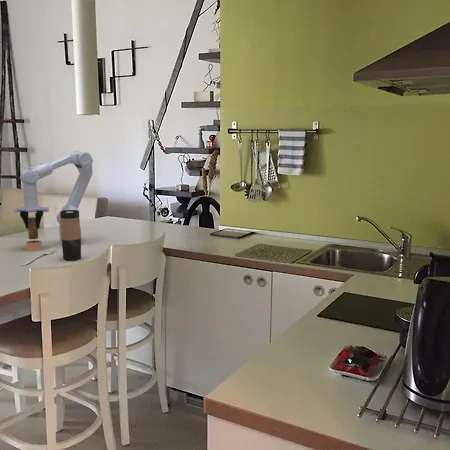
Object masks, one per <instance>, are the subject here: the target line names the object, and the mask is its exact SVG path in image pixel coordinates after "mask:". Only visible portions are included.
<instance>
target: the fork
mask: <svg viewBox="0 0 450 450" xmlns="http://www.w3.org/2000/svg"><path fill="white" fill-rule="evenodd" d="M57 247H58V246H51V247H50V248H49V249H48V250H47V251H45V252H44V253H43V252H42V253H40V254H37V256H35V257H33V258H32V259H29V260H27V261H25V262H23V263H22V264H21V266H23V267H24V266H27V265H29V264H31V263H32V262H33V261H36V259H38V258H39V257H41V256H42V255H51V254H52V253H54V251H56V249H57Z"/></svg>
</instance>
